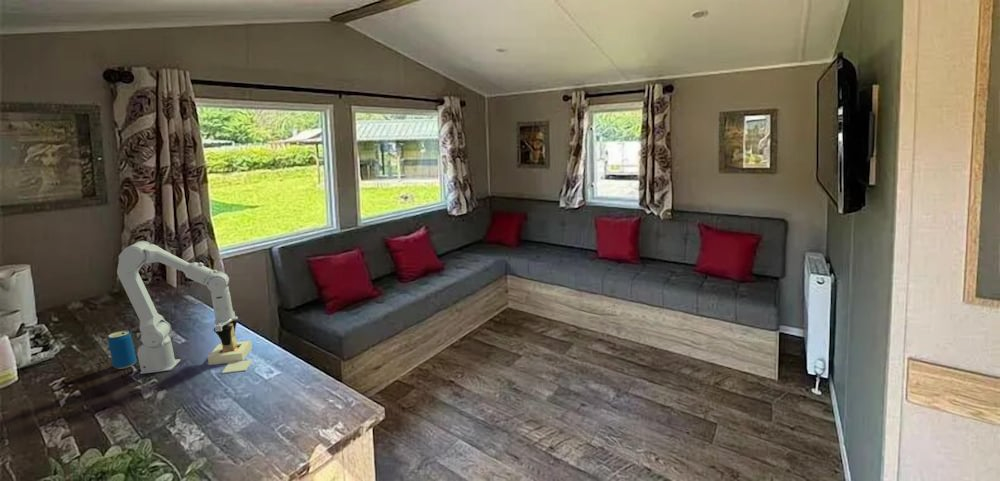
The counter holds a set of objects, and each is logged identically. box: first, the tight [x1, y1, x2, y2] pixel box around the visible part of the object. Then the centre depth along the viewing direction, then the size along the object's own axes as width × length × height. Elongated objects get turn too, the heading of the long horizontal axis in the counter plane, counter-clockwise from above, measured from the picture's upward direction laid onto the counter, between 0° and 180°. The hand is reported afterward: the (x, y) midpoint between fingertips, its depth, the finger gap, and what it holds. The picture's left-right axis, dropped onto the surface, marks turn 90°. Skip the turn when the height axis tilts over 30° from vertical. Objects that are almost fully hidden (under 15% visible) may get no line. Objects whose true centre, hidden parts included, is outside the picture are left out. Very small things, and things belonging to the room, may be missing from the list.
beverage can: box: [107, 330, 138, 370], centre depth 169 cm, size 6×6×12 cm
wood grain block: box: [220, 323, 237, 351], centre depth 173 cm, size 4×4×9 cm
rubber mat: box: [221, 359, 253, 375], centre depth 166 cm, size 8×8×1 cm
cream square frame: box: [207, 340, 253, 366], centre depth 174 cm, size 11×11×3 cm
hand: (229, 342), depth 173 cm, fingers closed on wood grain block, 3 cm apart
